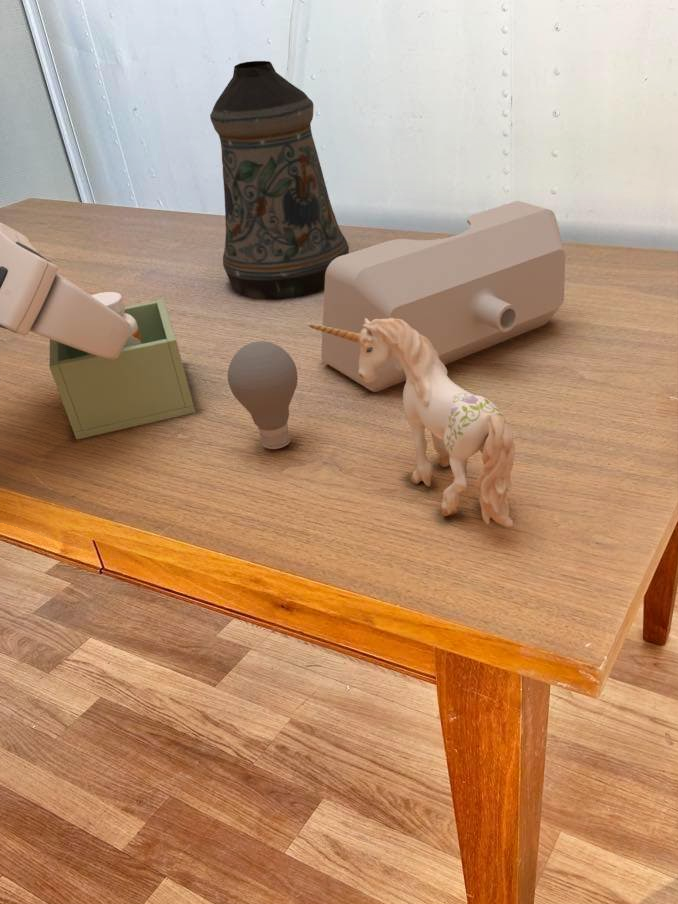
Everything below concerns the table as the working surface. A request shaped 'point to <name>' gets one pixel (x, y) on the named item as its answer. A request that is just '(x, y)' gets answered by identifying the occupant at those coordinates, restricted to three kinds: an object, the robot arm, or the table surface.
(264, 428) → the light bulb
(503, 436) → the unicorn figurine
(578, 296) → the table surface
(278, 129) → the brown decorated vase
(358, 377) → the tank
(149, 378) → the bin
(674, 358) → the table surface
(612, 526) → the table surface
